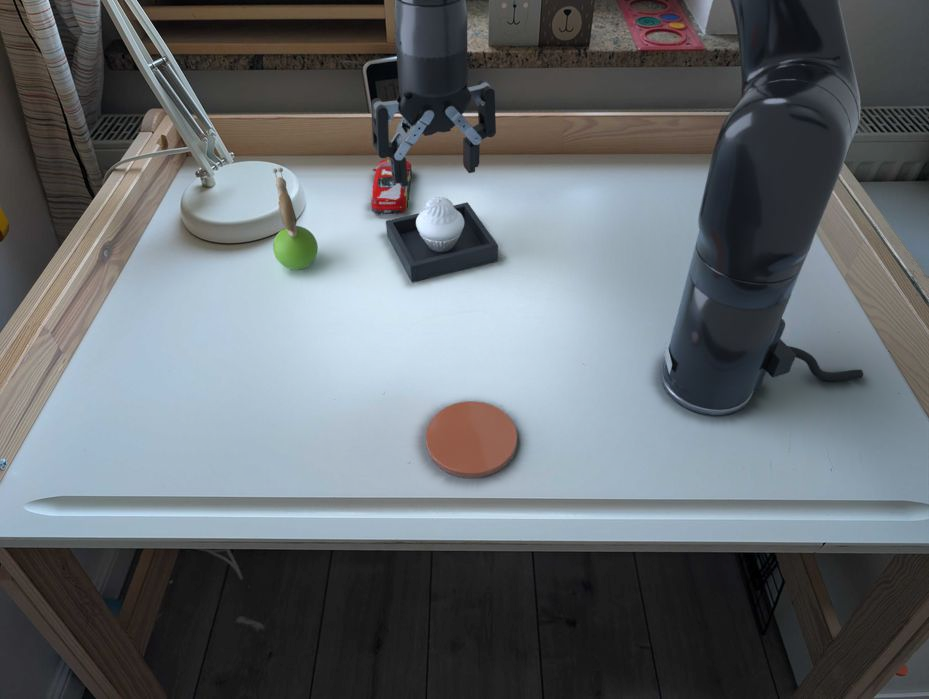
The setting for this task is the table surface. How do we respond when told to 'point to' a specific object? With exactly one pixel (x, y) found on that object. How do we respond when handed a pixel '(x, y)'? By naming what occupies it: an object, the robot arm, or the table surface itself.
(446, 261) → the tray
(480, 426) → the plate
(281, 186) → the snail figurine
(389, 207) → the race car
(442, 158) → the table surface
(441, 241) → the muffin
